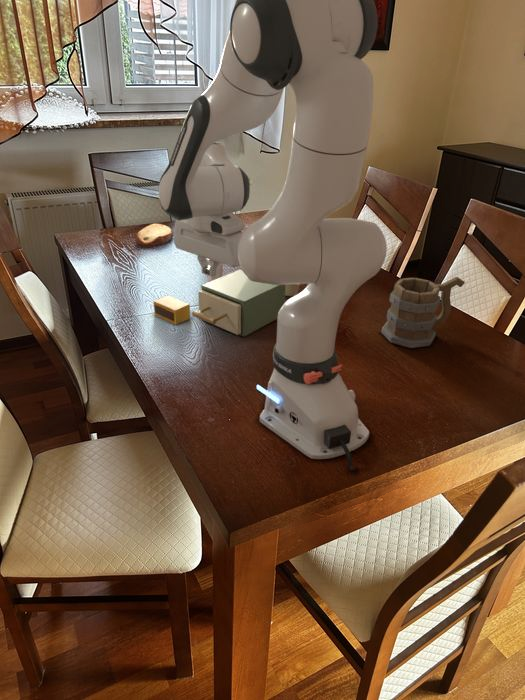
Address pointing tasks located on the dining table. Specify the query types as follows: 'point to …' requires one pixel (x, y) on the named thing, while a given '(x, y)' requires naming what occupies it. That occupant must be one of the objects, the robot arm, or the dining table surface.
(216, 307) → the drawer
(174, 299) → the matchbox
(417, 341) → the tankard
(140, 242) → the slice of bread
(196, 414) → the dining table surface
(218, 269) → the smoothie
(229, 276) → the cabinet
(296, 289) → the candle
